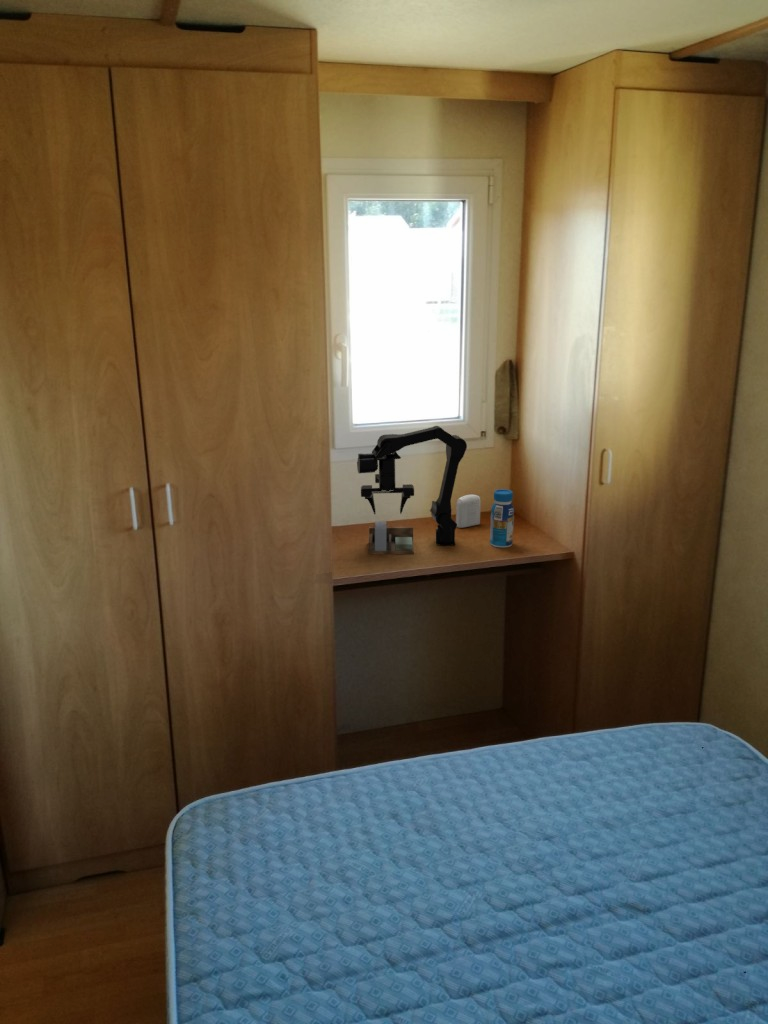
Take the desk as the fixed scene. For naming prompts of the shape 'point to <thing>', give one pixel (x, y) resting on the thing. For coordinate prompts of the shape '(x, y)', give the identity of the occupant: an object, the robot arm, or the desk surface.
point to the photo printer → (468, 511)
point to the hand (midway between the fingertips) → (387, 513)
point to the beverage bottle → (502, 519)
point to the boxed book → (380, 535)
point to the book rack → (394, 541)
